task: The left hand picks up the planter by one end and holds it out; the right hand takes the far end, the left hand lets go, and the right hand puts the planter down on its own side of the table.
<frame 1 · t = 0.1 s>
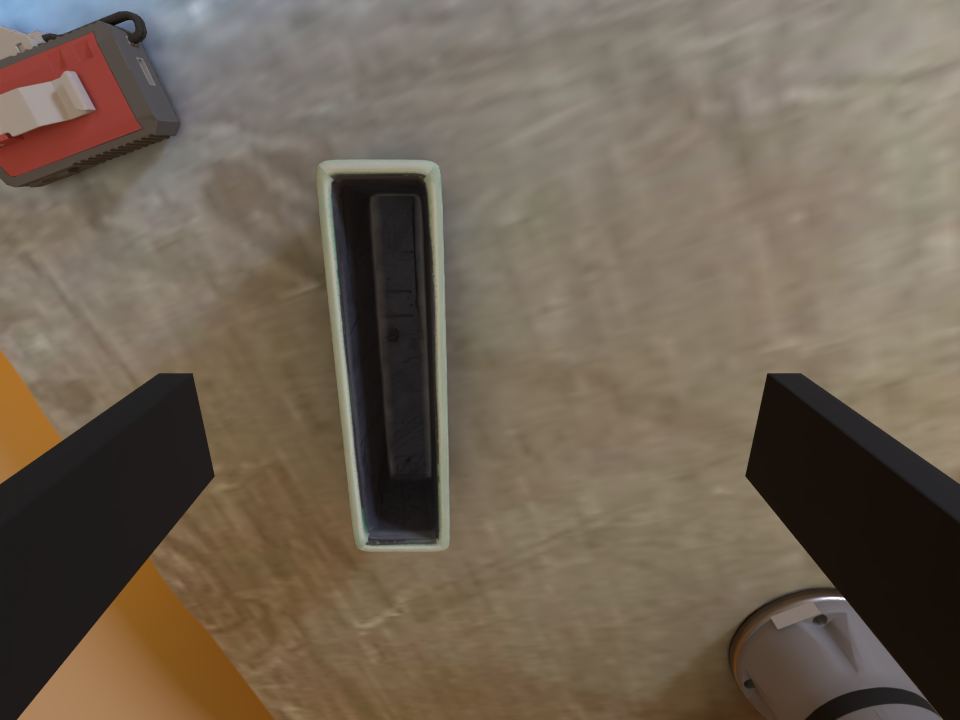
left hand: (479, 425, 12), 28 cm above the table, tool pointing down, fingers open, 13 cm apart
walkie-talkie: (37, 110, 35), on the table
planter: (405, 347, 41), on the table
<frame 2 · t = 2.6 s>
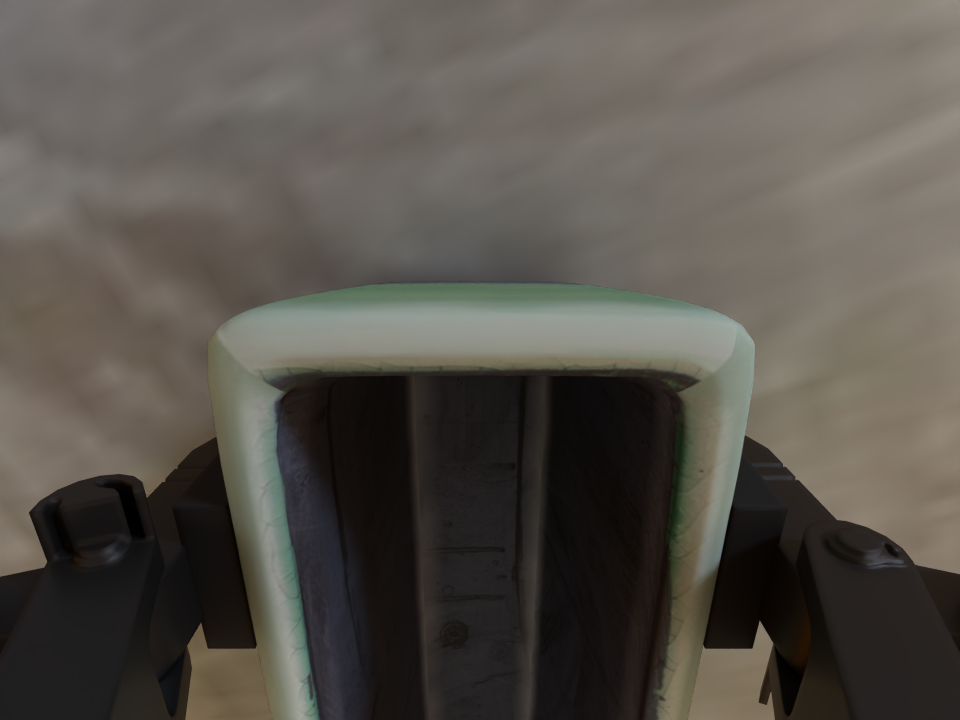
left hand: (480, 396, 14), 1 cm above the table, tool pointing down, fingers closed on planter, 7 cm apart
planter: (479, 645, 18), on the table, touching left hand
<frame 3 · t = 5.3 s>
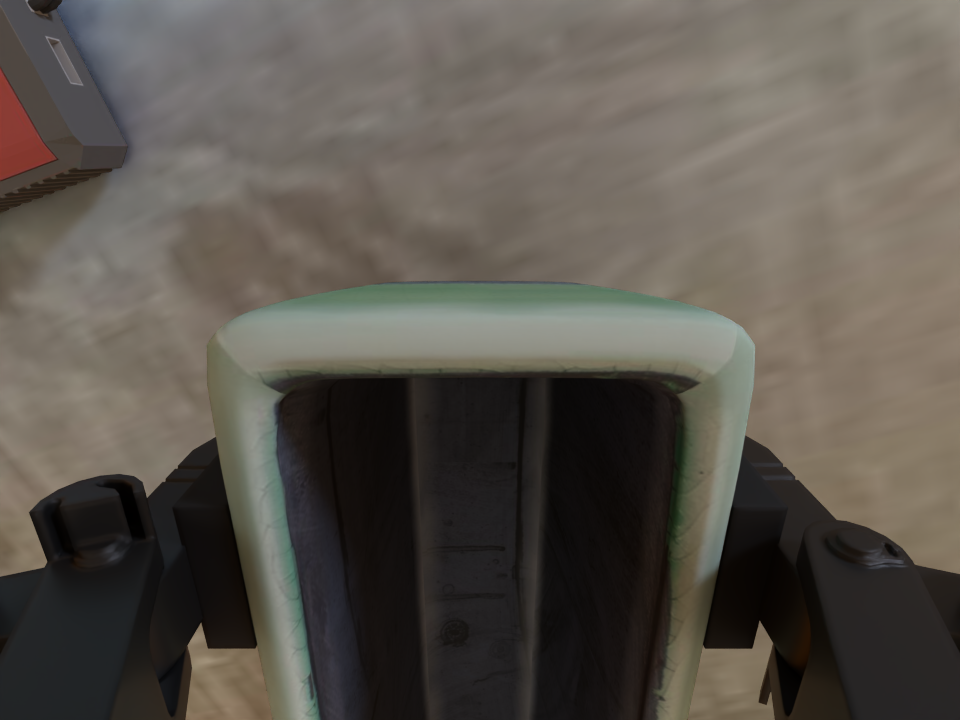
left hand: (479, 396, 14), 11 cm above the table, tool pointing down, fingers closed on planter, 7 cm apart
planter: (479, 643, 18), point 10 cm above the table, touching left hand
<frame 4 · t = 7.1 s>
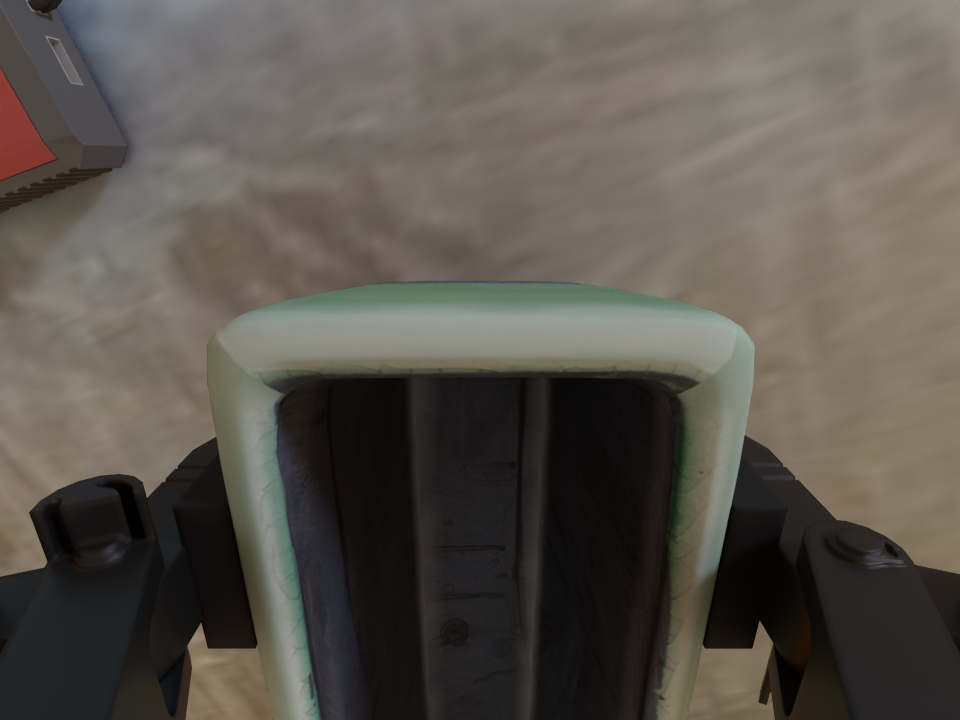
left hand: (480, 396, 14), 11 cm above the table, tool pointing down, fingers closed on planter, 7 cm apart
planter: (479, 642, 18), point 10 cm above the table, touching left hand, right hand
when the left hand's fingers open (11 cm above the table, at t = 8.1 s): planter stays where it is, held by the right hand.
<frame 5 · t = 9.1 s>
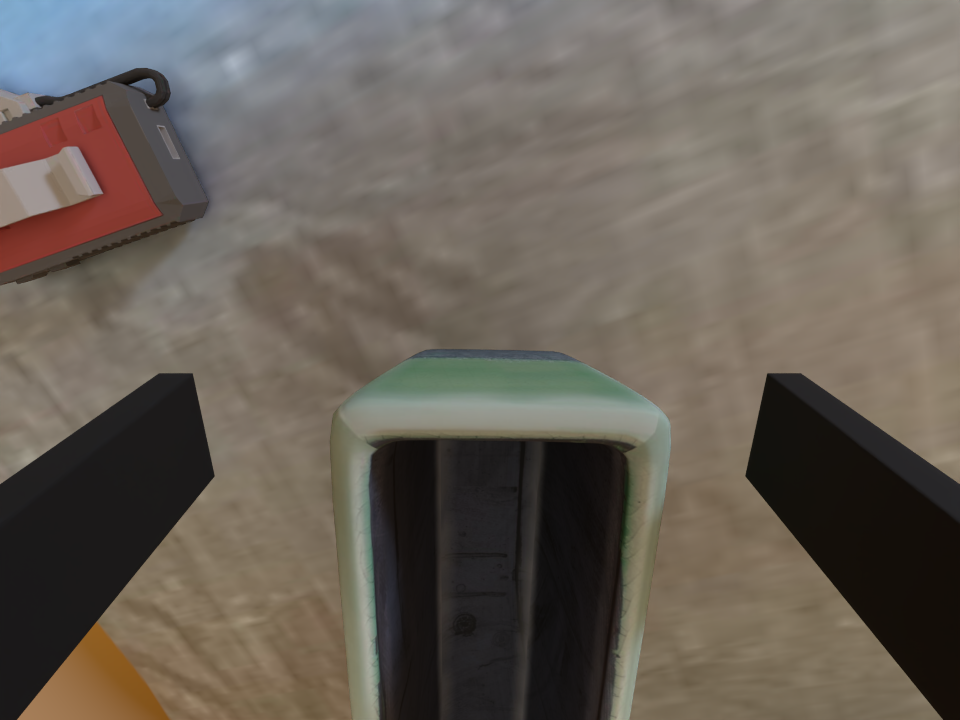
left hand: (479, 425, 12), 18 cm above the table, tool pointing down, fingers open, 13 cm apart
walkie-talkie: (28, 187, 28), on the table
planter: (484, 634, 22), point 13 cm above the table, touching right hand
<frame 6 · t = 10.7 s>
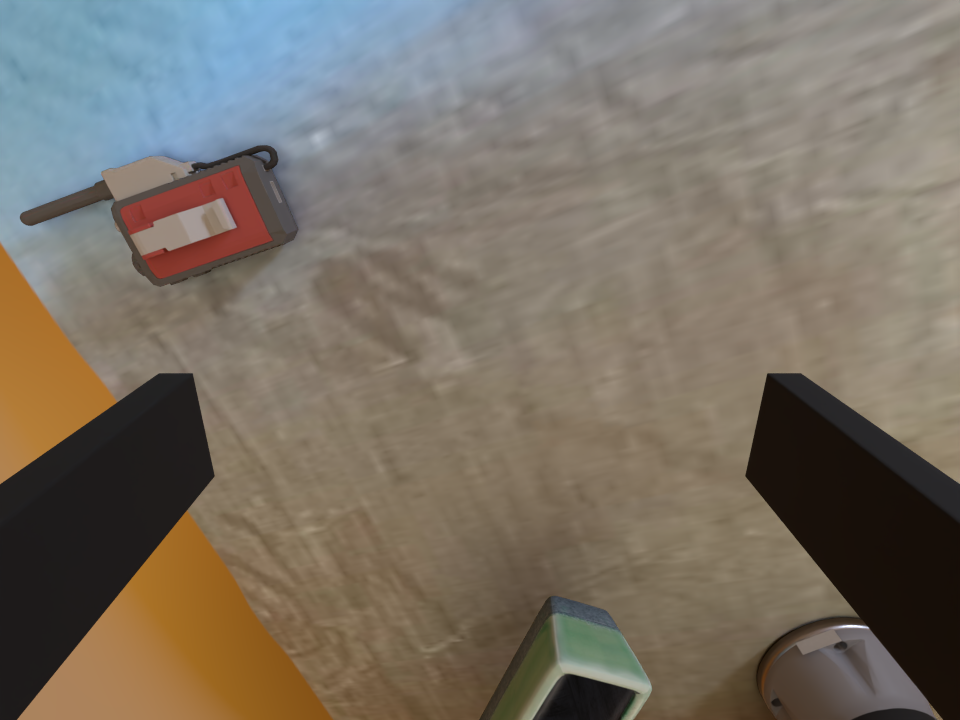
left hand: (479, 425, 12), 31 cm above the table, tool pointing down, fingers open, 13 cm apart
walkie-talkie: (175, 219, 41), on the table
planter: (518, 704, 46), point 11 cm above the table, touching right hand
when the right hand's fingers open (2 cm above the table, at t = 12.0 s): planter moves 1 cm, on the table.
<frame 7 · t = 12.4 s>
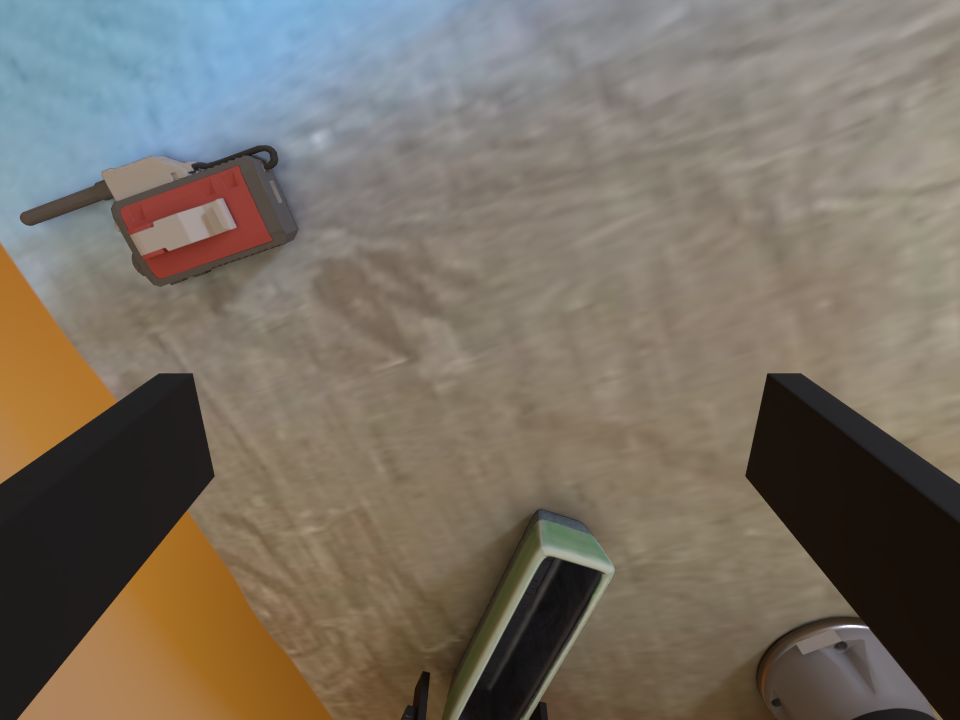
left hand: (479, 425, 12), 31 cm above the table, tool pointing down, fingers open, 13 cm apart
walkie-talkie: (175, 219, 41), on the table
planter: (513, 606, 56), on the table
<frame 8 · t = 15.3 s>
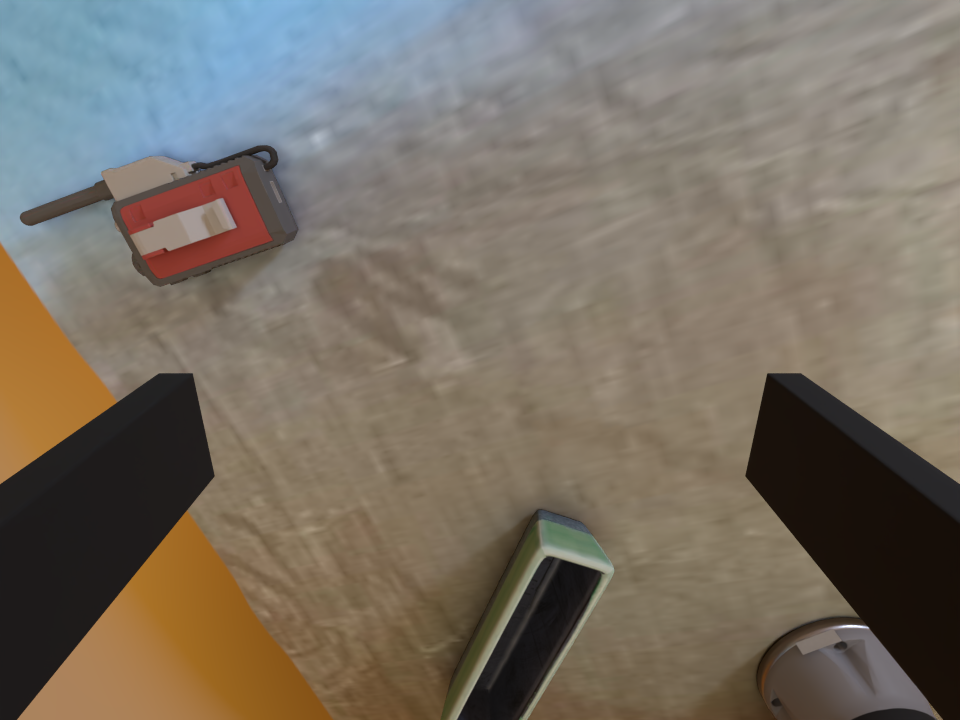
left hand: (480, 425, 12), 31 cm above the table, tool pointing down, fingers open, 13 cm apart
walkie-talkie: (175, 219, 41), on the table
planter: (512, 606, 56), on the table
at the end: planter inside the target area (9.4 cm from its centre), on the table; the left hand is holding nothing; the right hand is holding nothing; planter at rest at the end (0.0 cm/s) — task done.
